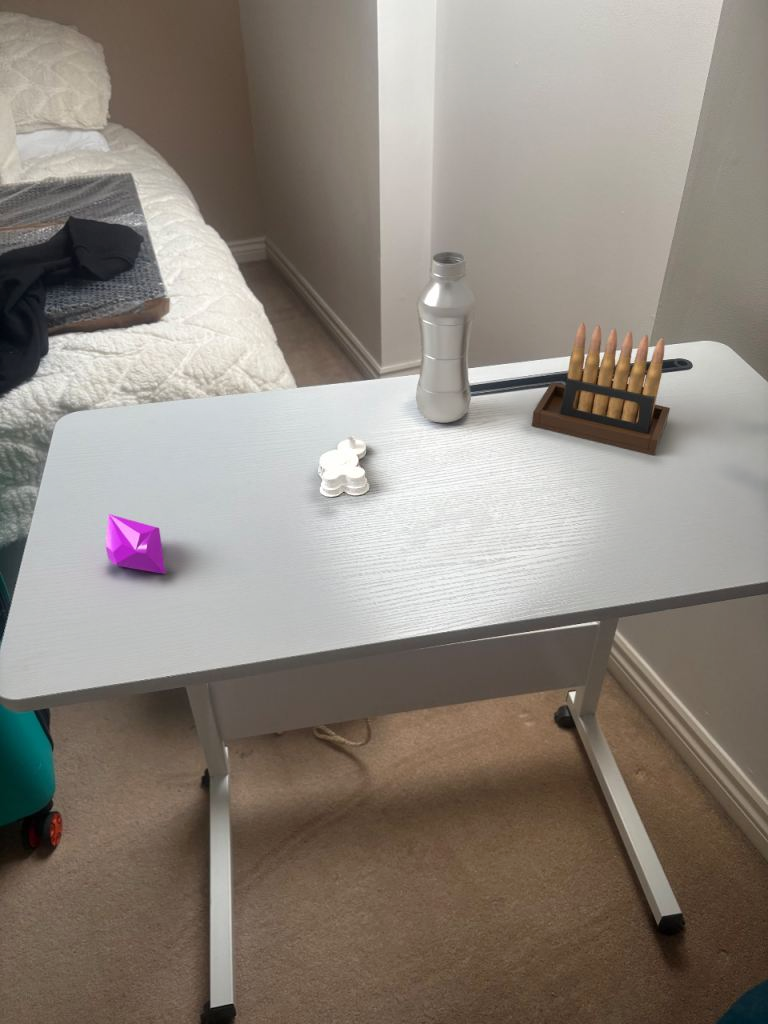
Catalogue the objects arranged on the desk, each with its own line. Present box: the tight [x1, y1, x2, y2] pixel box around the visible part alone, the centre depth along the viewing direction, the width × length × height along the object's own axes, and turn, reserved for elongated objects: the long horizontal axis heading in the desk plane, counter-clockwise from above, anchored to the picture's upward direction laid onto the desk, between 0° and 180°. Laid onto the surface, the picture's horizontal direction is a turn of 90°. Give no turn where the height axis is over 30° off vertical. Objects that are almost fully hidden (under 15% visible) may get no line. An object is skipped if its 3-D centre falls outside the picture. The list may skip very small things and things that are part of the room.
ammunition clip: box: [559, 322, 665, 434], centre depth 96 cm, size 11×2×12 cm, turn 65°
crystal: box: [105, 513, 166, 575], centre depth 81 cm, size 5×5×5 cm
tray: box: [531, 381, 671, 456], centre depth 99 cm, size 15×8×2 cm, turn 65°
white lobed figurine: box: [317, 435, 370, 509], centre depth 92 cm, size 9×9×2 cm
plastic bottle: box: [415, 251, 477, 424], centre depth 96 cm, size 6×7×20 cm
